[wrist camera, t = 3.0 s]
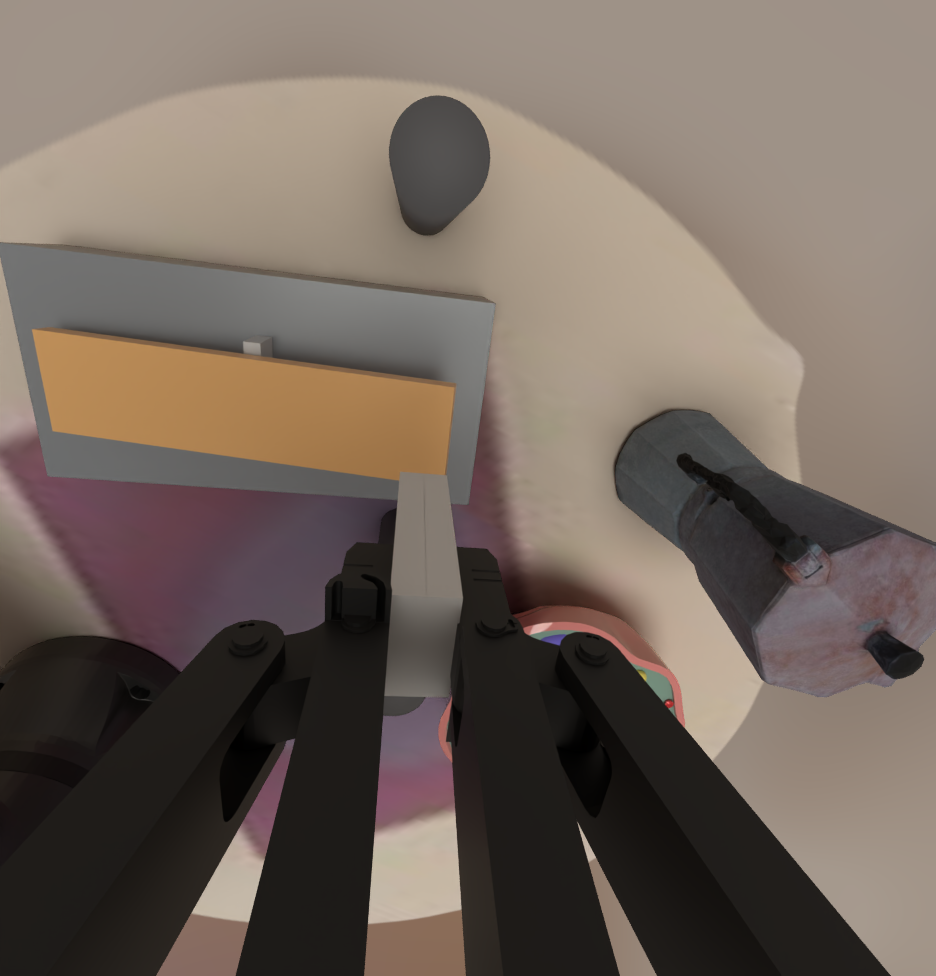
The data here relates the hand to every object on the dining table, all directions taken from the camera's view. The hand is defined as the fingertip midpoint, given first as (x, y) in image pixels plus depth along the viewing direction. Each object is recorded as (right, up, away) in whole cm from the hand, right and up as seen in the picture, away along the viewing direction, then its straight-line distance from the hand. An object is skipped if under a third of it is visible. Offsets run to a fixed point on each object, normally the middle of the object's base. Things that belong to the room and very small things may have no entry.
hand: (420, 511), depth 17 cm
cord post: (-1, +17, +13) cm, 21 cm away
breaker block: (-10, +8, +16) cm, 21 cm away
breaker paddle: (-9, +5, +9) cm, 13 cm away
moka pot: (+16, +3, +22) cm, 27 cm away
